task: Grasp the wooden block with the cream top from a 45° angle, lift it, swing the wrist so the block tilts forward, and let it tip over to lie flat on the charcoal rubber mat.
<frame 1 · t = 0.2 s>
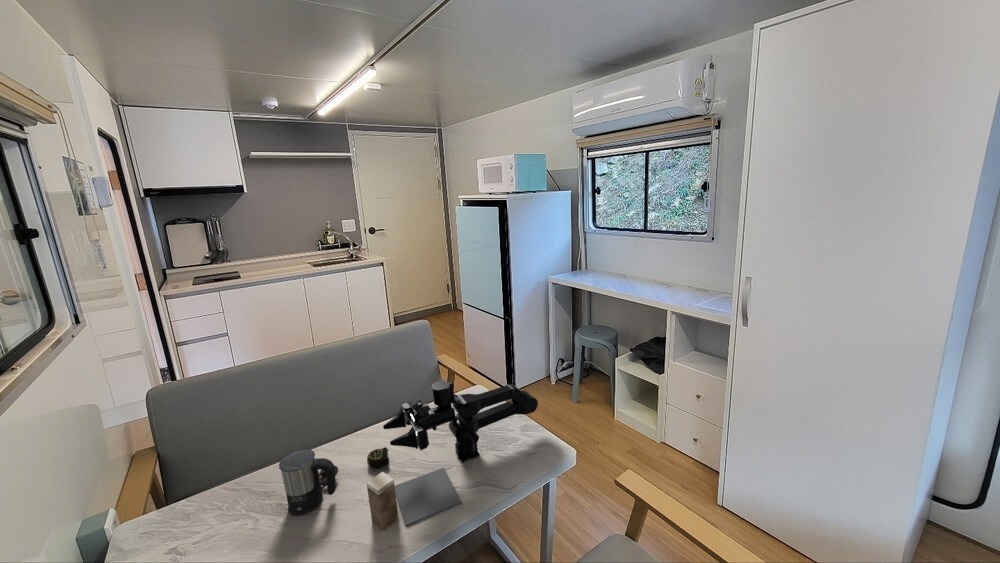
hand: (386, 435, 114), 17 cm above the table, fingers open, 9 cm apart
milk frother: (314, 493, 115), on the table
charcoal mat: (426, 495, 112), on the table
wooden block: (385, 520, 104), on the table
tape measure: (380, 463, 127), on the table
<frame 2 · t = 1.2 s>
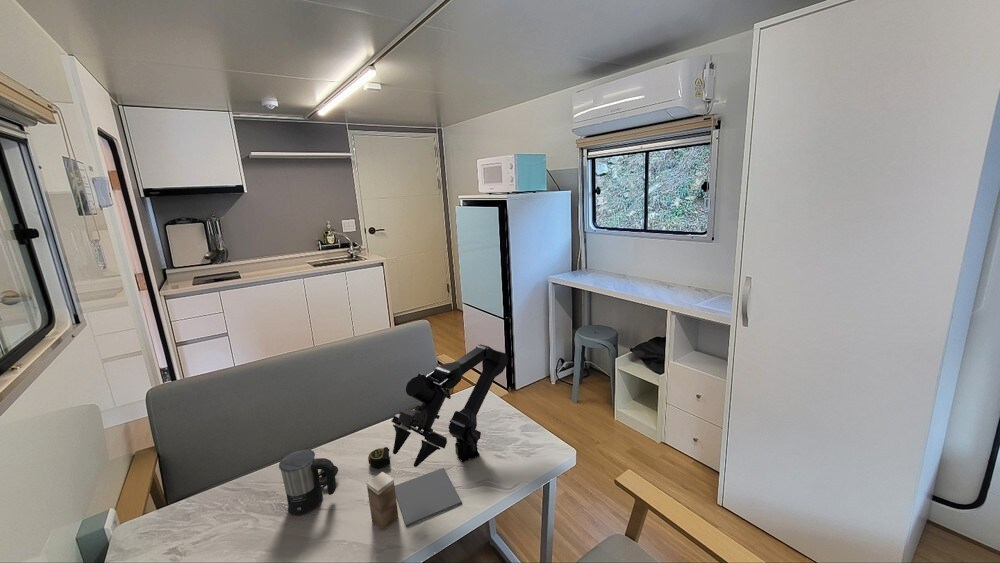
hand: (404, 460, 107), 14 cm above the table, fingers open, 9 cm apart
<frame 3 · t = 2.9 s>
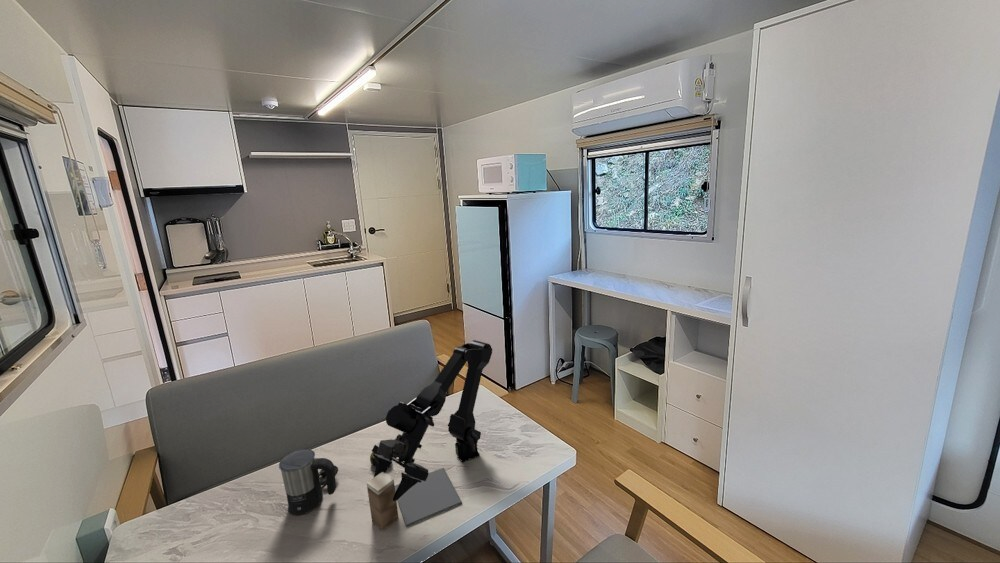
hand: (383, 493, 102), 8 cm above the table, fingers open, 9 cm apart
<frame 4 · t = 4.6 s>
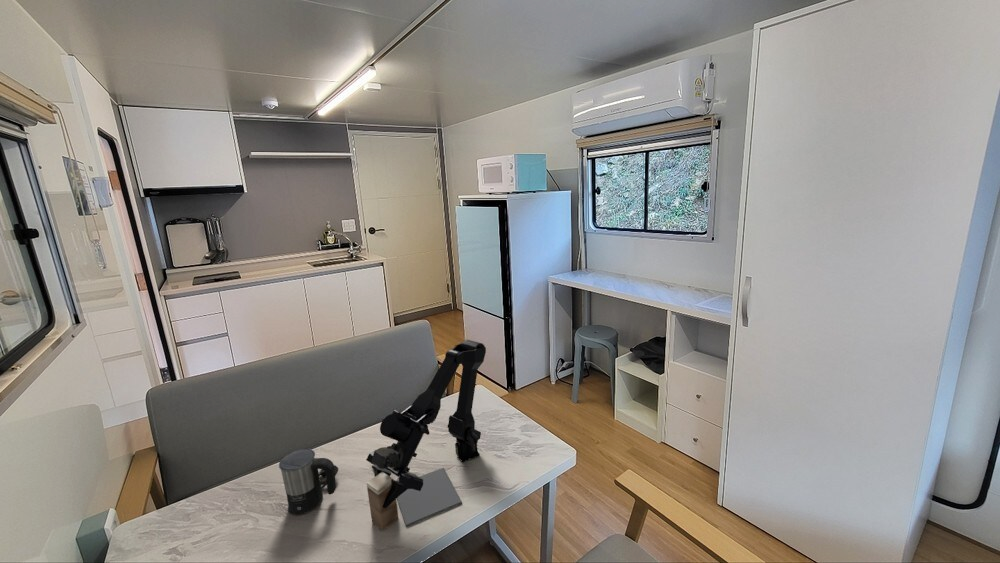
hand: (378, 503, 101), 7 cm above the table, fingers closed on wooden block, 5 cm apart
wooden block: (385, 520, 104), on the table, touching gripper
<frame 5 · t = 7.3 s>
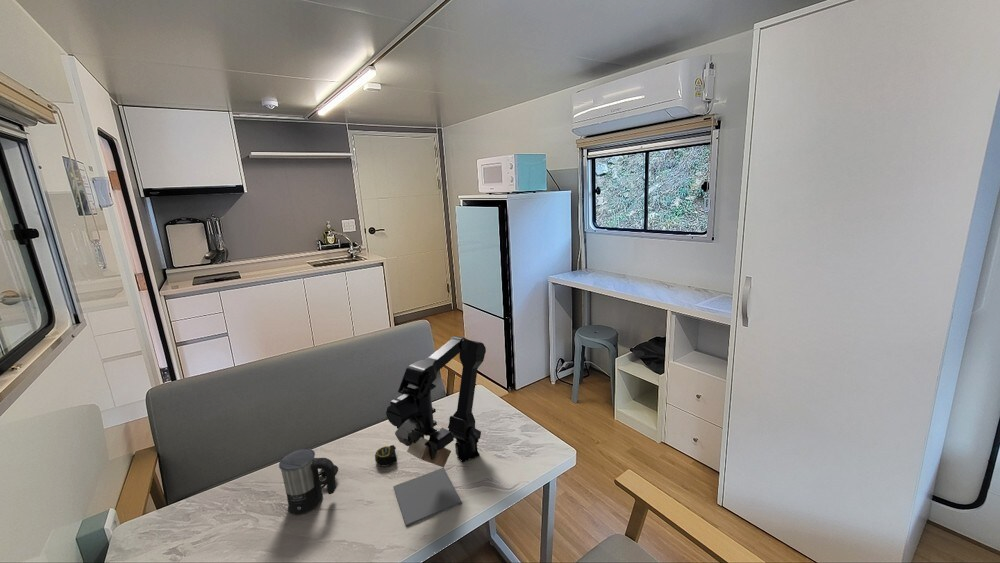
hand: (426, 455, 111), 12 cm above the table, fingers closed on wooden block, 5 cm apart
wooden block: (441, 456, 116), point 8 cm above the table, tilted 45°, touching gripper
when the fingers open (7 cm above the table, at t = 9.4 s): wooden block moves 2 cm and tips over, resting on charcoal mat.
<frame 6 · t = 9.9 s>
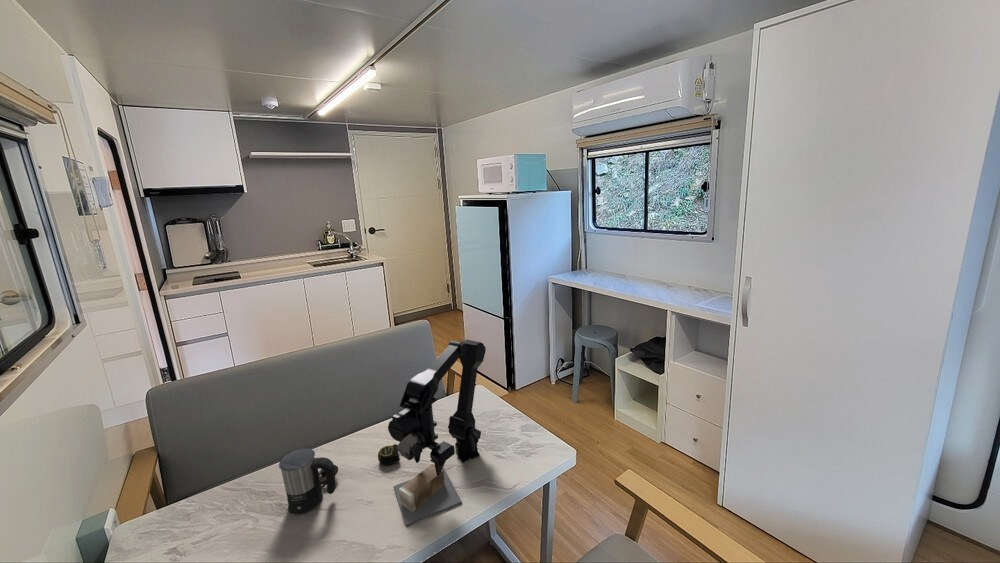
hand: (428, 468, 112), 7 cm above the table, fingers open, 9 cm apart
wooden block: (438, 474, 116), point 3 cm above the table, tilted 90°, touching charcoal mat
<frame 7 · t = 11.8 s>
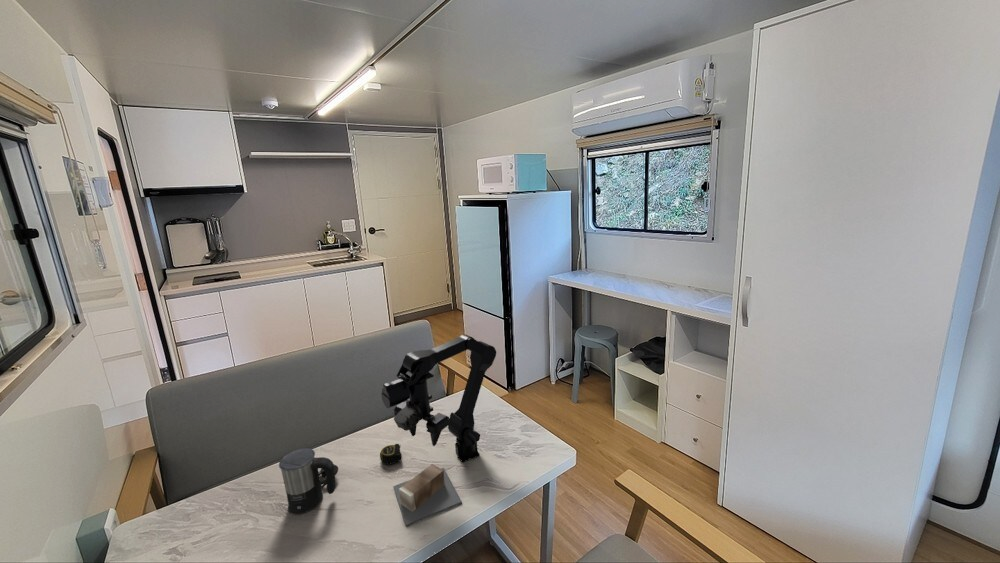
hand: (423, 440, 117), 13 cm above the table, fingers open, 9 cm apart
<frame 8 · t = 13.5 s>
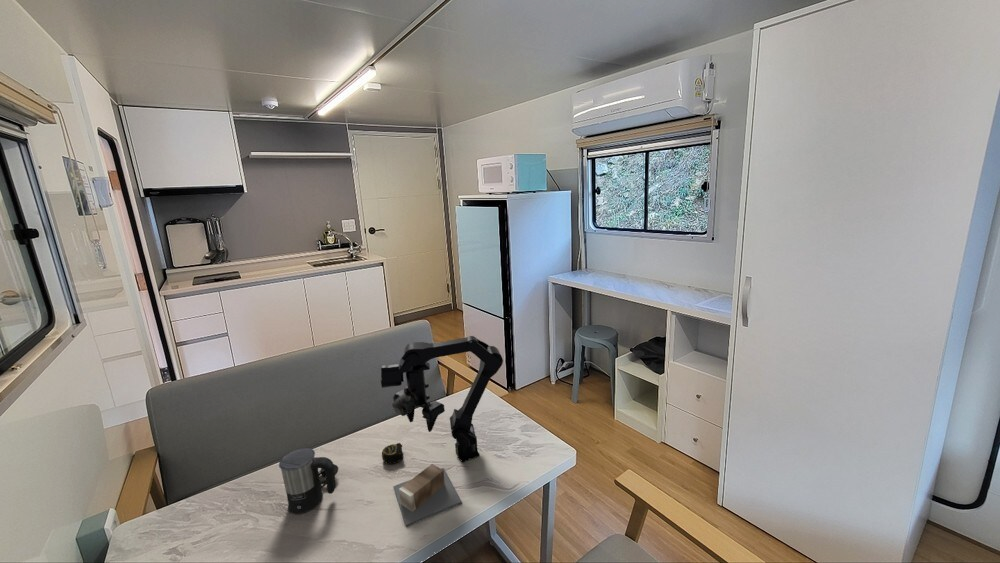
hand: (420, 426, 124), 13 cm above the table, fingers open, 9 cm apart
at the end: wooden block tilted 90°; wooden block inside the target area on the charcoal mat (5.7 cm from its centre), point 3.1 cm above the charcoal mat's base; the gripper is holding nothing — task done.
